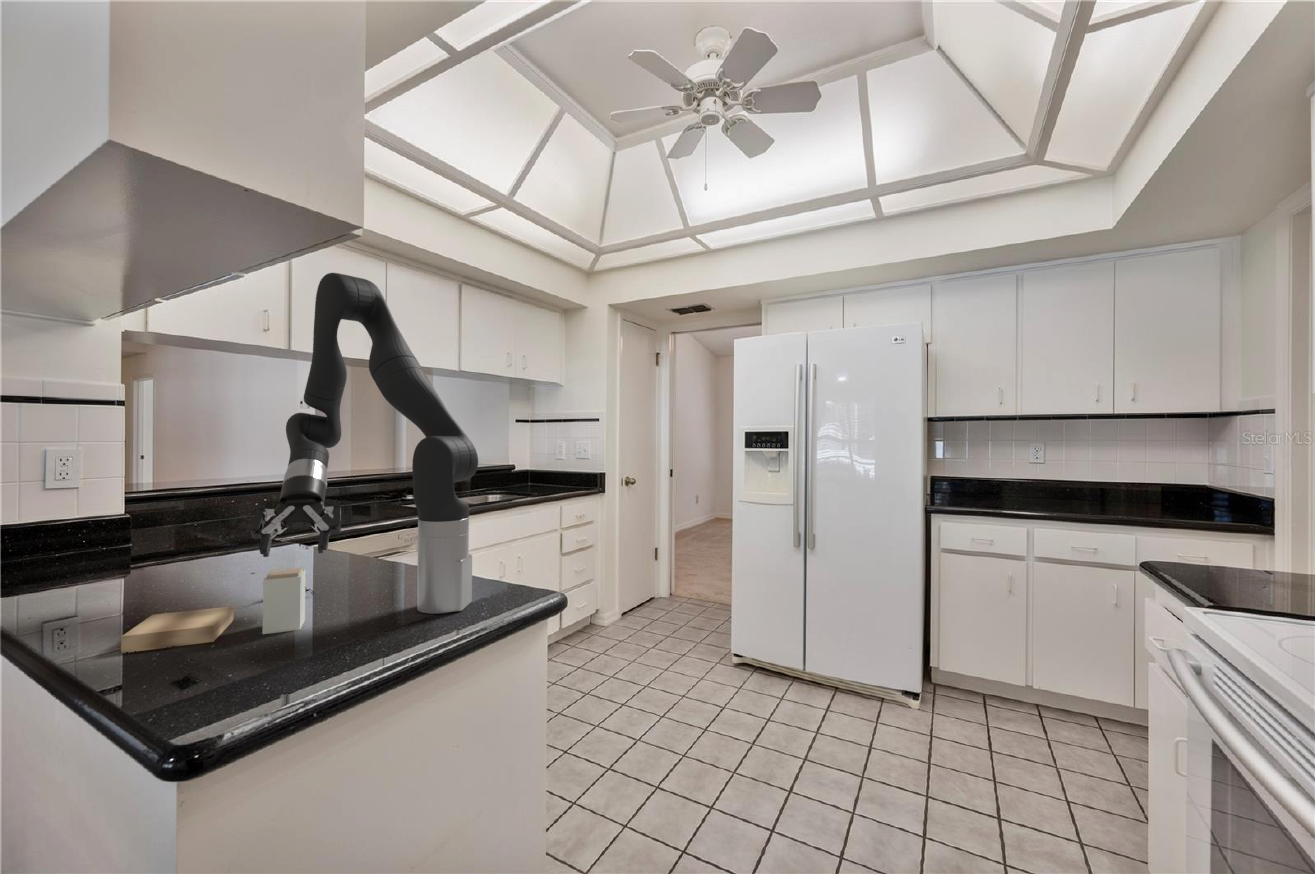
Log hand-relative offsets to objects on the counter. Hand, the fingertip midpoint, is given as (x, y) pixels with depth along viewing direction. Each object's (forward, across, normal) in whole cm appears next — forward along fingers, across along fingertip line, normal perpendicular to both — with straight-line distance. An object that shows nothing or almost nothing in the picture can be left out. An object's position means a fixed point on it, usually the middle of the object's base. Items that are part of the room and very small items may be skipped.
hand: (293, 552), depth 98 cm
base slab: (+12, -14, +5) cm, 19 cm away
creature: (0, -2, +17) cm, 17 cm away
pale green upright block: (+13, 0, +3) cm, 14 cm away
